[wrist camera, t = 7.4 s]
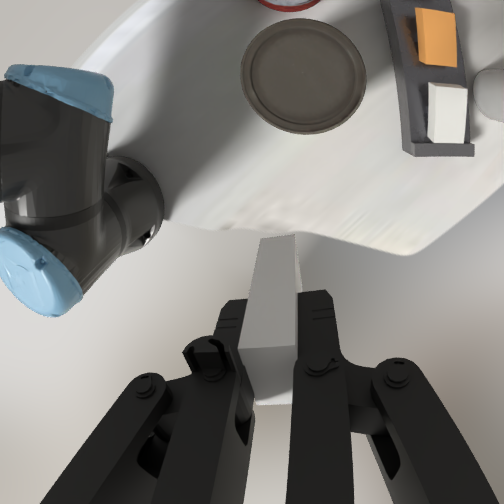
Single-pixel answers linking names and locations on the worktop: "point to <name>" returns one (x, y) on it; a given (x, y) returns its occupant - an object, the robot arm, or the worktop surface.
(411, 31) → the dark grey tray
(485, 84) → the can
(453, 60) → the orange rectangular block
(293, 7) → the canned food
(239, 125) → the worktop surface
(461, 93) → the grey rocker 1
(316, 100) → the coffee can
